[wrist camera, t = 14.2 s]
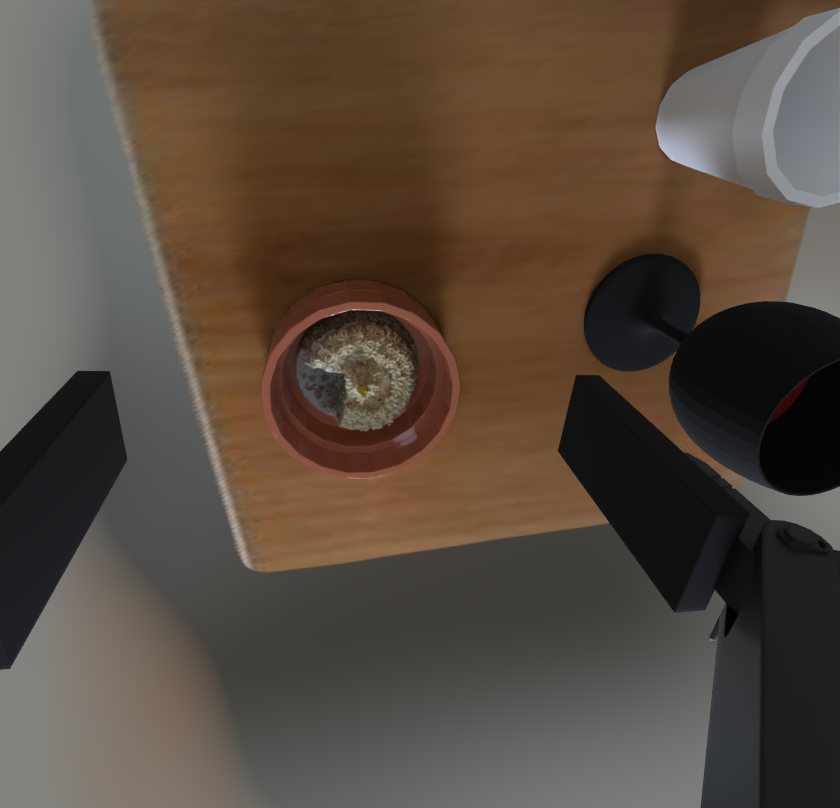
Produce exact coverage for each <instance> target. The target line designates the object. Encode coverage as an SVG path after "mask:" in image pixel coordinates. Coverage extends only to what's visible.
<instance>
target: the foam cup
mask: <svg viewBox="0 0 840 808" xmlns="http://www.w3.org/2000/svg"><path fill="white" fill-rule="evenodd" d="M655 129H656V133H657V137H658V142H659V146H660V148H661V149H662V151H663V152H664V153H665V154H666V155H667V156H668V157H669V159H670V160H672V161H675V162H677V163H679V164H682V165H685V166H688V167H691V168H693V169H696V170H699V171H702V172H704V173H707V174H710V175H713V176H716V177H718V178H721V179H724V180H727V181H730V182H732V183H735V184H738V185H741V186H743V187H746V188H749V189H752V190H753V191H754V192H755V193H756V195H757V196H761V197H765V198H768V199H772V200H776V201H780V202H783V203H788V204H794V205H800V206H807V207H814V208H821V207H824V206H828V205H832V204H835V203H839V202H840V8H838V9H834V10H830V11H826V12H823V13H819V14H815V15H811V16H807V17H804V18H803V19H802V20H801V21H800V22H798V23H797V24H796V25H795V26H793V27H791V28H788V29H786V30H784V31H781V32H779V33H776V34H774V35H772V36H769V37H767V38H765V39H762V40H760V41H757V42H755V43H753V44H750V45H748V46H746V47H743V48H741V49H738V50H736V51H734V52H731V53H729V54H726V55H724V56H722V57H719V58H717V59H715V60H712V61H710V62H707V63H705V64H703V65H700V66H698V67H696V68H693V69H692V70H690V71H687V72H686V73H685V74H684V75H683V76H681V77H680V78H679V79H678V80H677V81H676V82H674V83H673V84H672V85H671V86H670V88H669V90H668V91H667V93H666V95H665V97H664V98H663V100H662V102H661V104H660V105H659V110H658V116H657V122H656V127H655Z"/></svg>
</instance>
